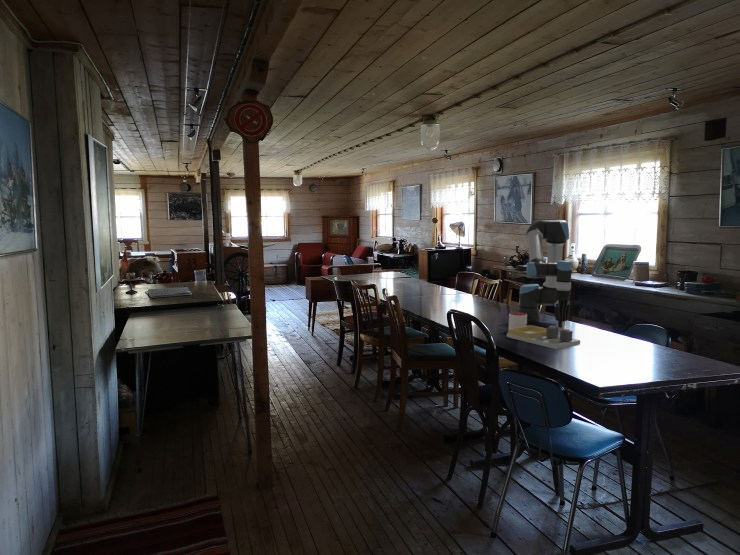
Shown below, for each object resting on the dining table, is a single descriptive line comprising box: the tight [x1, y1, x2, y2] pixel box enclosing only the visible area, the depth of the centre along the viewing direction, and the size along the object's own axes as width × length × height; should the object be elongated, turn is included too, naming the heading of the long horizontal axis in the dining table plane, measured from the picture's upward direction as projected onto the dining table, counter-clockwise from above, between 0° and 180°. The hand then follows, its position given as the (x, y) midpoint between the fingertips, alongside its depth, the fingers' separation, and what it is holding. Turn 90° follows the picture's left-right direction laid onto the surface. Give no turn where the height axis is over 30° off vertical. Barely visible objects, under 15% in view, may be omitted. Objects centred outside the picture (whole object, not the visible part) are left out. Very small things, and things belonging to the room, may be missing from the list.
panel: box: [506, 324, 581, 350], centre depth 283 cm, size 20×32×4 cm, turn 34°
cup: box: [508, 312, 528, 329], centre depth 305 cm, size 10×10×10 cm
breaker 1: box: [546, 325, 559, 338], centre depth 280 cm, size 4×4×6 cm
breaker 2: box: [559, 328, 574, 342], centre depth 273 cm, size 4×4×6 cm
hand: (561, 332), depth 284 cm, fingers closed
